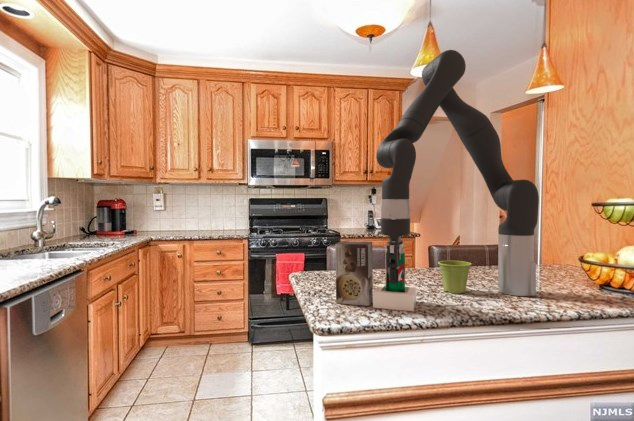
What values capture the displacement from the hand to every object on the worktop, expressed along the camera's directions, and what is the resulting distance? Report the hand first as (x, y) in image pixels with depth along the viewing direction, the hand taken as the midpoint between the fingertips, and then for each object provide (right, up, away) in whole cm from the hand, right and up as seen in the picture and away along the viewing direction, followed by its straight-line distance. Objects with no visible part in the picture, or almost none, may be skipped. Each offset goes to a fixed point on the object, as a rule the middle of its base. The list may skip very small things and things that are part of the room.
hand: (395, 281), depth 95 cm
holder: (0, -6, 0) cm, 6 cm away
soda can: (0, -4, 0) cm, 4 cm away
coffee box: (-11, -6, +2) cm, 12 cm away
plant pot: (+21, -6, +14) cm, 26 cm away
